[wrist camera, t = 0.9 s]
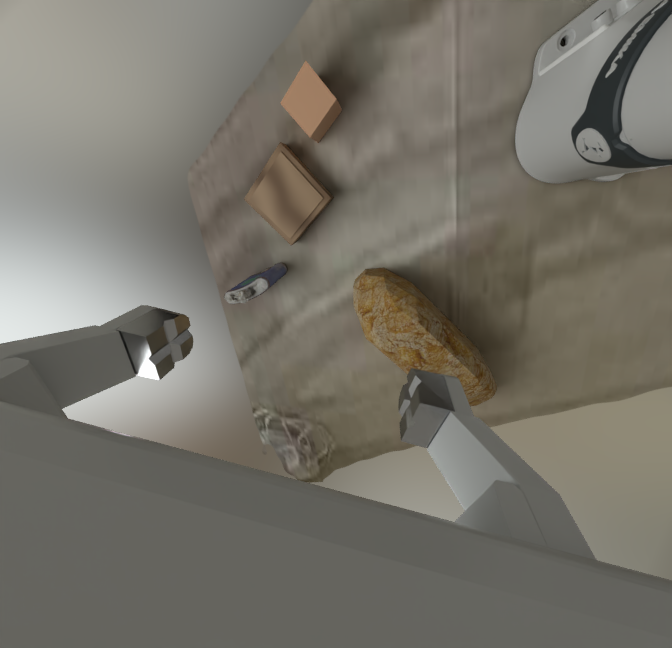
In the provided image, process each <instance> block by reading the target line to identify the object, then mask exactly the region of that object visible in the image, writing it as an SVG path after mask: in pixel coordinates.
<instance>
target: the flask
mask: <svg viewBox="0 0 672 648" xmlns="http://www.w3.org/2000/svg"><path fill="white" fill-rule="evenodd" d="M286 268H287V267H286V265H285V264H284V263H277V264H275V265H274V266H273V267H270V268H266V269H265V270H264V271H263V272H260V273H259V274H255V275H252V276H250V277H249V278H247V279H246V280H244V281H243V282H241V283H239V284H238V285H237V286H235V287H234V288H232V289H231V290H229V291H227V292H226V293H225V295H224V298H225V300H226V301H227V302H228V303H230V304H236V303H246V301H248V300H251V299H253V298H255V297H257V296H259V295H261V294H262V293H264V292H265V291H266V290H267V289H269V288H270V287H271V286H272V285H273V284H274V283H275V282H276V281H277V280H278V279H280V278H281V277H282V276H283V275H285V274H286V272H287V269H286Z"/></svg>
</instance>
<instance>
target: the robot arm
mask: <svg viewBox="0 0 672 648" xmlns="http://www.w3.org/2000/svg"><path fill="white" fill-rule="evenodd" d="M561 39H565V45H564V47H562V46H561V45H560V41H561ZM515 144H516V152H517V156H518V159H519V161H520V163H521V165H522V167H523V168H524V169H525V171H526V172H527V173H528V174H529V175H531V176H532V177H534V178H535V179H537V180H540V181H542V182H546V183H567V182H572V181H577V180H582V179H589V180H594V181H599V182H608V181H614V180H617V179H619V178H620V177H622V176H623V175H624V174H625V173H631V172H637V171H643V170H648V169H654V168H658V167H665V166H669V165H672V0H597V1H596V2H595V3H594V4H592V5H591V6H590V7H588V8H587V9H586V10H585V11H583V12H582V13H581V14H579V15H578V16H577V17H576V18H574V19H573V20H572V21H570V22H569V23H568V24H567V25H565V26H564V27H563V28H561V29H560V30H559V31H558V32H556V33H555V34H554V35H552V36H551V37H550V38H549V39H547V40H546V41H545V42H544V43H543V44H542V45H541V47H540V48H539V50H538V52H537V55H536V59H535V64H534V71H533V81H532V85H531V88H530V90H529V93H528V95H527V97H526V100H525V102H524V104H523V106H522V109H521V112H520V115H519V118H518V122H517V127H516V135H515ZM189 327H190V321H189V318H188V317H187V316H186V315H184V314H180V313H176V312H172V311H168V310H164V309H160V308H156V307H151V306H148V305H145V306H144V305H142V306H139V307H137V308H135V309H133V310H131V311H129V312H127V313H125V314H123V315H121V316H119V317H117V318H115V319H113V320H111V321H109V322H107V323H105V324H103V325H101V326H90V327H84V328H80V329H74V330H69V331H64V332H59V333H54V334H48V335H44V336H38V337H33V338H28V339H23V340H18V341H12V342H7V343H2V344H0V648H672V580H668V579H665V578H661V577H657V576H653V575H650V574H646V573H642V572H639V571H635V570H631V569H627V568H623V567H620V566H616V565H612V564H609V563H605V562H601V561H598V560H596V558H595V557H594V555H593V553H592V551H591V550H590V548H589V546H588V544H587V542H586V541H585V539H584V537H583V535H582V534H581V532H580V530H579V528H578V526H577V524H576V523H575V521H574V519H573V517H572V516H571V514H570V512H569V510H568V509H567V507H566V505H565V503H564V501H563V500H562V498H561V496H560V495H559V494H558V493H557V492H556V491H555V490H554V489H553V488H552V487H551V486H550V485H549V484H548V483H547V482H546V481H545V480H544V479H543V478H542V477H541V476H540V475H538V474H537V473H536V472H535V471H534V470H533V469H532V468H531V467H530V466H529V465H528V464H527V463H526V462H525V461H524V460H522V459H521V457H520V456H519V455H517V454H516V453H515V452H514V451H513V450H512V449H511V448H510V447H509V446H508V445H507V444H506V443H505V442H504V441H503V440H502V439H501V438H499V436H497V435H496V434H495V433H494V432H493V431H492V430H491V429H490V428H489V427H488V426H487V425H486V424H485V423H484V422H483V421H482V420H481V419H480V418H477V417H474V415H473V413H472V410H471V408H470V405H469V403H468V400H467V398H466V395H465V392H464V390H463V387H462V385H461V382H460V380H459V379H458V378H457V377H454V376H449V375H444V374H437V373H433V372H428V371H424V370H420V369H415V368H411V369H410V371H409V373H408V375H407V380H408V383H407V384H405V385H403V387H402V390H401V392H400V397H399V413H400V414H401V416H402V419H401V421H400V435H401V441H403V442H407V443H410V444H414V445H417V446H421V447H424V448H427V451H428V452H429V454H430V455H431V457H432V459H433V460H434V462H435V464H436V465H437V467H438V468H439V470H440V472H441V473H442V475H443V476H444V478H445V480H446V481H447V483H448V485H449V486H450V488H451V489H452V491H453V493H454V494H455V496H456V498H457V499H458V501H459V502H460V504H461V506H462V507H463V509H464V510H465V512H464V513H463V514H462V515H461V516H460V517H459V518H458V519H457V520H456V521H455V522H452V521H448V520H444V519H440V518H437V517H433V516H429V515H426V514H422V513H418V512H415V511H411V510H407V509H403V508H400V507H396V506H392V505H389V504H384V503H381V502H377V501H373V500H370V499H366V498H362V497H359V496H355V495H351V494H348V493H344V492H340V491H336V490H332V489H329V488H325V487H321V486H318V485H314V484H310V483H307V482H303V481H299V480H295V479H292V478H288V477H284V476H280V475H276V474H273V473H269V472H265V471H262V470H258V469H254V468H251V467H247V466H243V465H239V464H236V463H232V462H228V461H224V460H221V459H217V458H213V457H209V456H206V455H202V454H198V453H194V452H191V451H187V450H183V449H179V448H176V447H172V446H168V445H164V444H161V443H157V442H153V441H149V440H146V439H142V438H138V437H134V436H131V435H127V434H123V433H120V432H116V431H112V430H108V429H105V428H101V427H97V426H94V425H90V424H86V423H82V422H79V421H75V420H71V419H68V418H67V416H66V415H65V413H64V412H63V410H62V409H63V408H65V407H67V406H69V405H72V404H74V403H76V402H78V401H81V400H83V399H85V398H88V397H90V396H92V395H94V394H96V393H99V392H101V391H103V390H106V389H108V388H110V387H112V386H115V385H117V384H119V383H122V382H124V381H126V380H128V379H131V378H133V377H135V376H136V375H138V376H143V377H147V378H152V379H156V380H160V379H162V378H163V377H164V376H165V375H166V374H167V373H168V372H169V371H171V370H172V369H173V368H174V364H175V362H177V361H180V360H183V359H184V358H185V357H186V356H187V355H188V354H189V353H190V351H191V349H192V347H193V337H192V334H191V333H190V332H189V331H188V328H189Z"/></svg>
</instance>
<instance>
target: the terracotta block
mask: <svg viewBox="0 0 672 648" xmlns="http://www.w3.org/2000/svg"><path fill="white" fill-rule="evenodd" d="M281 105H282V106H283V107H284V108H285V109H286V110H287V111H288V113H289V114H290V115H291V116H292V117H293V118H294V120H295V121H296V122H297V123H298V124H299V125H300V126H301V128H302V129H303V130H304V131H305V132H306V133H307V135H308V136H309V137H310V138H312V139H313V140H315V141H316V142H317V143H319V142H320V140H321V139H322V138H323V136H324V135H325V133H326V132H327V131H328V129H329V128H330V126H331V125H332V124H333V122H334V121H335V119H336V118H337V117H338V115H339V114H340V113H341V111H342V109H341V107H340V105H339V103H338V101H337V99H336V98H335V97H334V95H333V94H332V93H331V92H330V90H329V89H328V88H327V87H326V85H325V84H324V83H323V82H322V80H321V79H320V78H319V77H318V75H317V74H316V73H315V72H314V70H313V69H312V68H311V67H310V65H309V64H308V63H307V62H306V61H305V62H304V64H303V66H302V68H301V69H300V71H299V73H298V74H297V76H296V78H295V79H294V81H293V83H292V84H291V86H290V88H289V90H288V91H287V93H286V95H285V96H284V98H283V100H282V101H281Z"/></svg>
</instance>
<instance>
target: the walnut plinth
mask: <svg viewBox="0 0 672 648" xmlns="http://www.w3.org/2000/svg"><path fill="white" fill-rule="evenodd" d="M333 198H334V197H333V196H332V195H331V194H330V193H329V191H328V190H327V189H326V188H325V187H324V186H323V185H322V184H321V183H320V182H319V180H318V179H317V178H316V177H315V176H314V175H313V174H312V173H311V172H310V170H309V169H308V168H307V167H306V166H305V165H304V164H303V163H302V162H301V161H300V159H299V158H298V157H297V156H296V155H295V154H294V153H293V152H292V151H291V149H290V148H289V147H288V146H287V145H286V144H283V143H281V142H280V143H279V145H278V146H277V148H276V149H275V151H274V153H273V154H272V156H271V157H270V159H269V160H268V162H267V164H266V165H265V167H264V168H263V170H262V172H261V173H260V175H259V176H258V178H257V179H256V181H255V183H254V184H253V186H252V187H251V189H250V190H249V192H248V194H247V195H246V197H245V198H244V200H245V201H246V202H247V203H248V204H249V205H250V206H251V207H252V208H253V209H254V210H255V211H256V212H257V213H259V214H260V215H261V216H262V217H263V218H264V219H265V220H266V221H267V222H268V223H269V224H270V225H271V226H272V227H273V228H274V229H275V230H276V231H277V232H278V233H279V234H280V235H281V236H282V237H283V238H284V239H285V240H286V241H287V242H288V243H289V244H290V245H293V244H294V243H296V242H297V240H298V239H299V238H300V237H301V236H302V234H303V233H304V232H305V231H306V230H307V228H308V227H309V226H310V225H311V224H312V223H313V221H314V220H315V219H316V218H317V217H318V215H319V214H320V213H321V212H322V211H323V210H324V208H325V207H326V206H327V205H328V204H329V202H330V201H331V200H332V199H333Z"/></svg>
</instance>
